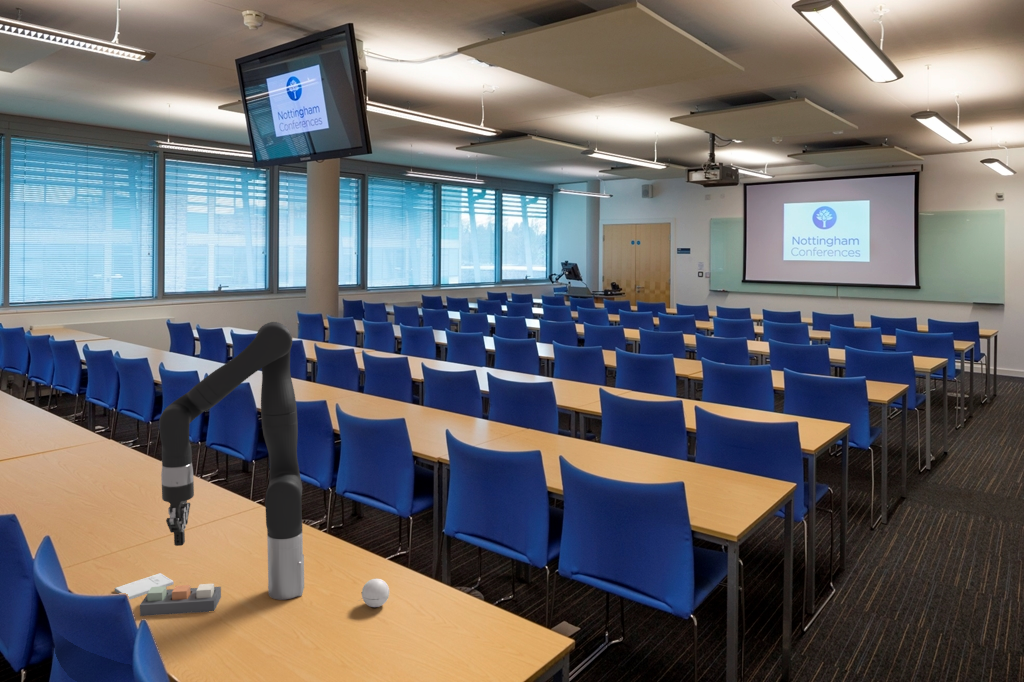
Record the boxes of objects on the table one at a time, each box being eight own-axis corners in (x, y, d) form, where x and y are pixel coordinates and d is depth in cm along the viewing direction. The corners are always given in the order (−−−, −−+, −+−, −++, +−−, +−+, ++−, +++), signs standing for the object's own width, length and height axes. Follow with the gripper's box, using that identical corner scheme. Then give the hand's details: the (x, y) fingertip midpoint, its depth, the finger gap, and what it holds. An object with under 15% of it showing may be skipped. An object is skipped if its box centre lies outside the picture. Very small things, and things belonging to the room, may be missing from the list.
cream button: (214, 595, 190) (213, 583, 189) (211, 601, 186) (210, 589, 186) (200, 596, 189) (199, 584, 189) (196, 602, 186) (196, 590, 185)
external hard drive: (114, 593, 195) (160, 577, 204) (127, 602, 190) (173, 586, 199) (114, 587, 194) (159, 572, 204) (127, 596, 189) (173, 580, 199)
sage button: (166, 598, 188) (166, 586, 187) (162, 604, 184) (162, 592, 184) (152, 599, 187) (151, 587, 187) (147, 605, 184) (147, 593, 183)
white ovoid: (379, 596, 195) (379, 571, 194) (394, 606, 190) (394, 580, 189) (347, 608, 188) (347, 582, 187) (362, 619, 183) (362, 592, 182)
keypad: (221, 596, 192) (220, 586, 192) (214, 611, 185) (213, 600, 184) (150, 601, 189) (149, 590, 189) (140, 616, 181) (139, 605, 181)
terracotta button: (190, 596, 189) (190, 584, 188) (187, 603, 185) (186, 591, 185) (176, 597, 188) (175, 585, 188) (172, 604, 185) (171, 592, 184)
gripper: (185, 488, 177) (187, 554, 179) (199, 472, 190) (201, 534, 192) (153, 489, 176) (156, 555, 178) (170, 473, 189) (172, 535, 191)
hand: (179, 544), depth 185 cm, fingers closed
